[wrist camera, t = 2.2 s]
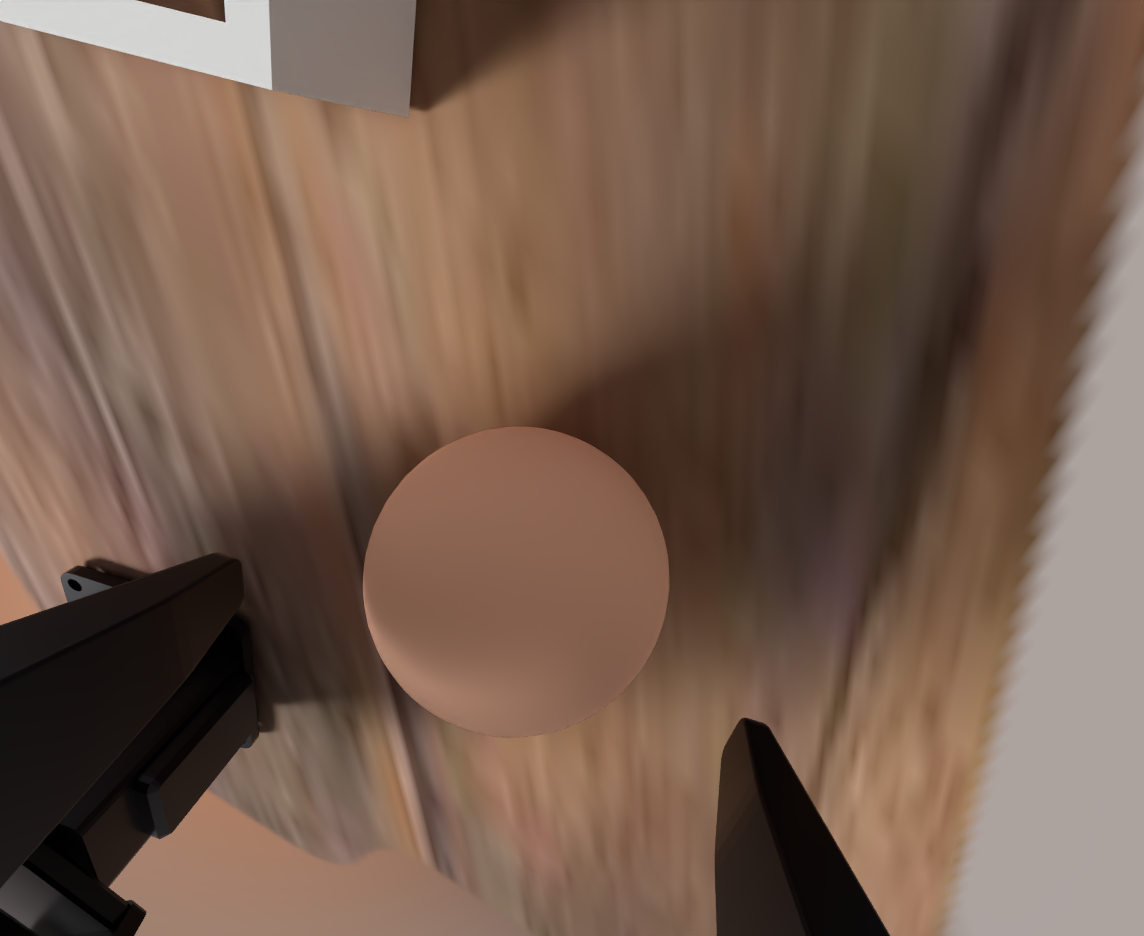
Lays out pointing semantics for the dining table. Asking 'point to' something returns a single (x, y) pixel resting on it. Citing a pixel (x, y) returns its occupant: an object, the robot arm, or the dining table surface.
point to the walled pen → (255, 42)
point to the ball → (516, 581)
